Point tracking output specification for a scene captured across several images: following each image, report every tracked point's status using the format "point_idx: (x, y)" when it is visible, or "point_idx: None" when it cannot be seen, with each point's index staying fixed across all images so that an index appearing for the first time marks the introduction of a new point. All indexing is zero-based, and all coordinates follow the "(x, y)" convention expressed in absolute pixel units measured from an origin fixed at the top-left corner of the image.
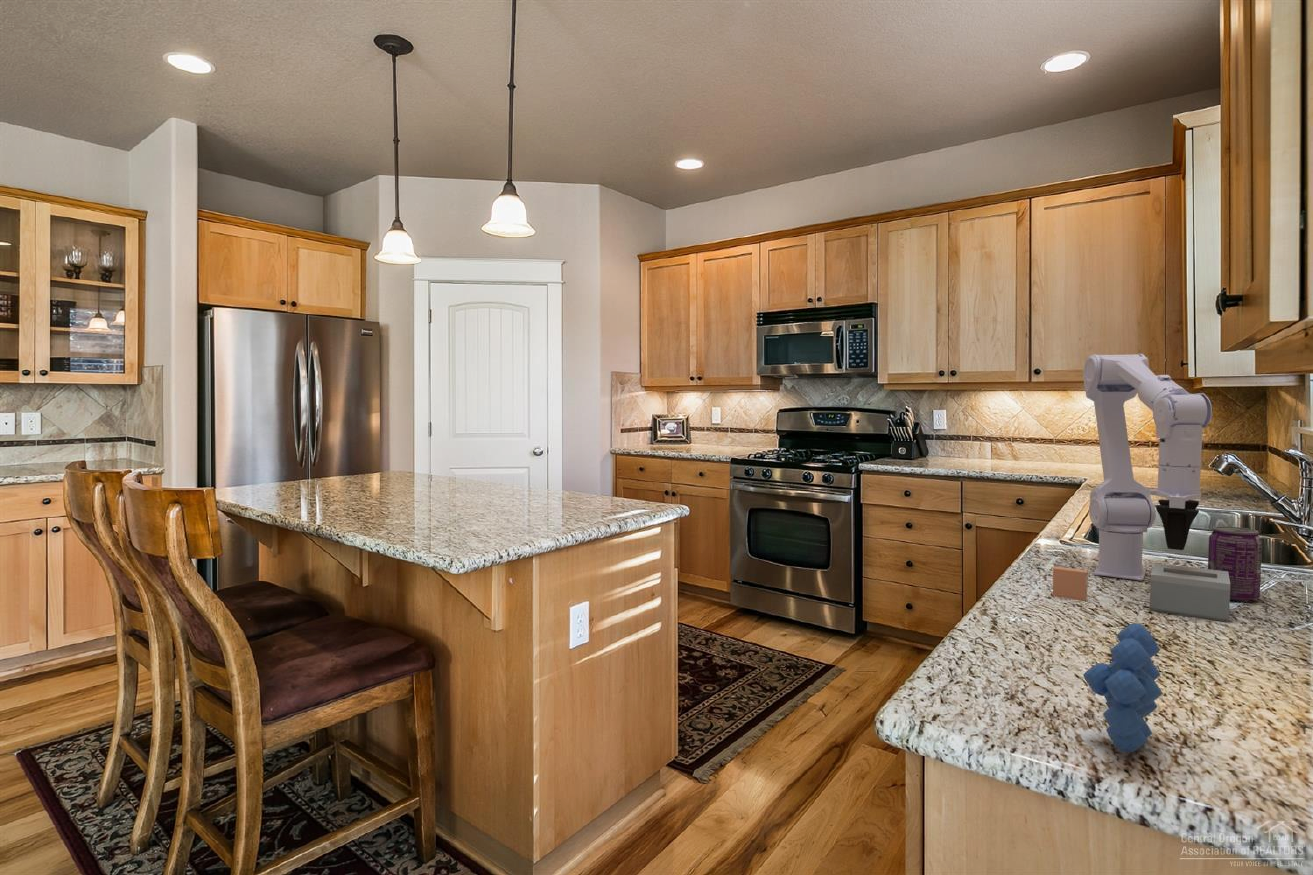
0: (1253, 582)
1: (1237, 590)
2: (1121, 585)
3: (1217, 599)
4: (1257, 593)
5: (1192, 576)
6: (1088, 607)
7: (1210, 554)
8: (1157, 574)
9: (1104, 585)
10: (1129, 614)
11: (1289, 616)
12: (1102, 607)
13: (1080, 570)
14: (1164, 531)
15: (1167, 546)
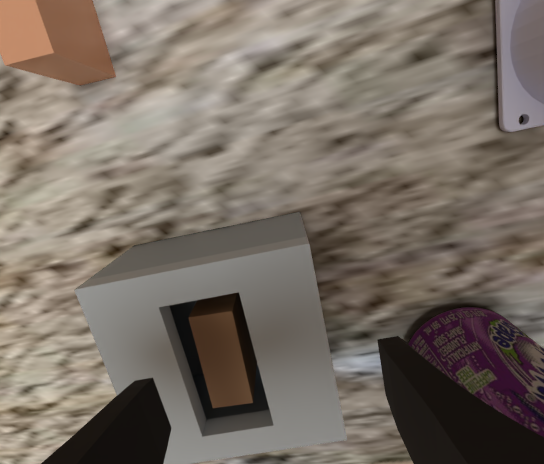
0: None
1: None
2: (389, 97)
3: None
4: None
5: (166, 385)
6: (15, 119)
7: (509, 400)
8: (92, 305)
9: (345, 54)
10: (49, 220)
11: (341, 450)
12: (53, 148)
13: (23, 28)
14: (55, 452)
15: (129, 386)
